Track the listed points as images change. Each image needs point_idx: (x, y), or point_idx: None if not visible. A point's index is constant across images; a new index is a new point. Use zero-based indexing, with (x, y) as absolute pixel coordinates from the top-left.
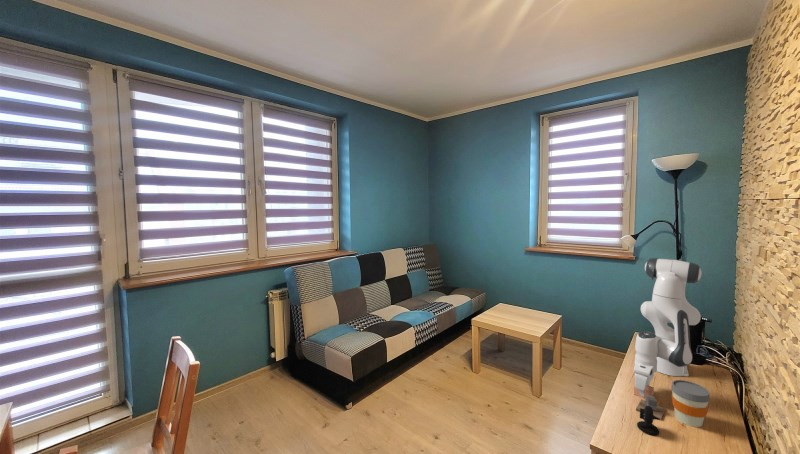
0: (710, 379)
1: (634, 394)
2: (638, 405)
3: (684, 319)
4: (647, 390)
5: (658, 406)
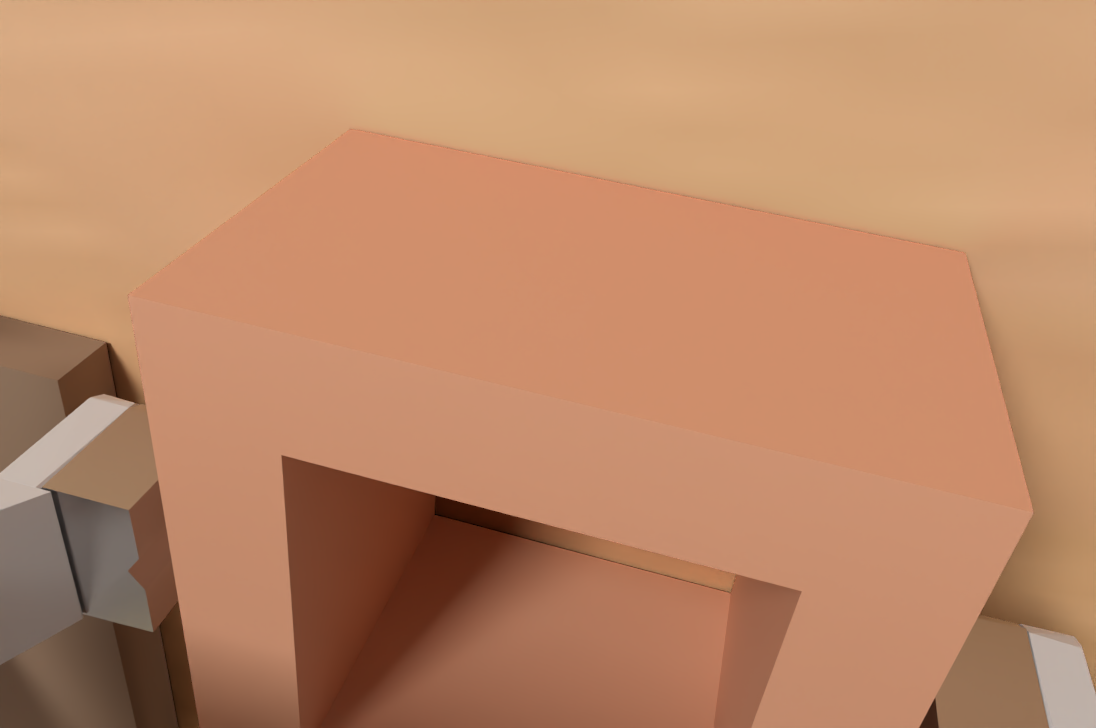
0: None
1: (342, 153)
2: None
3: None
4: (735, 650)
5: (92, 684)
